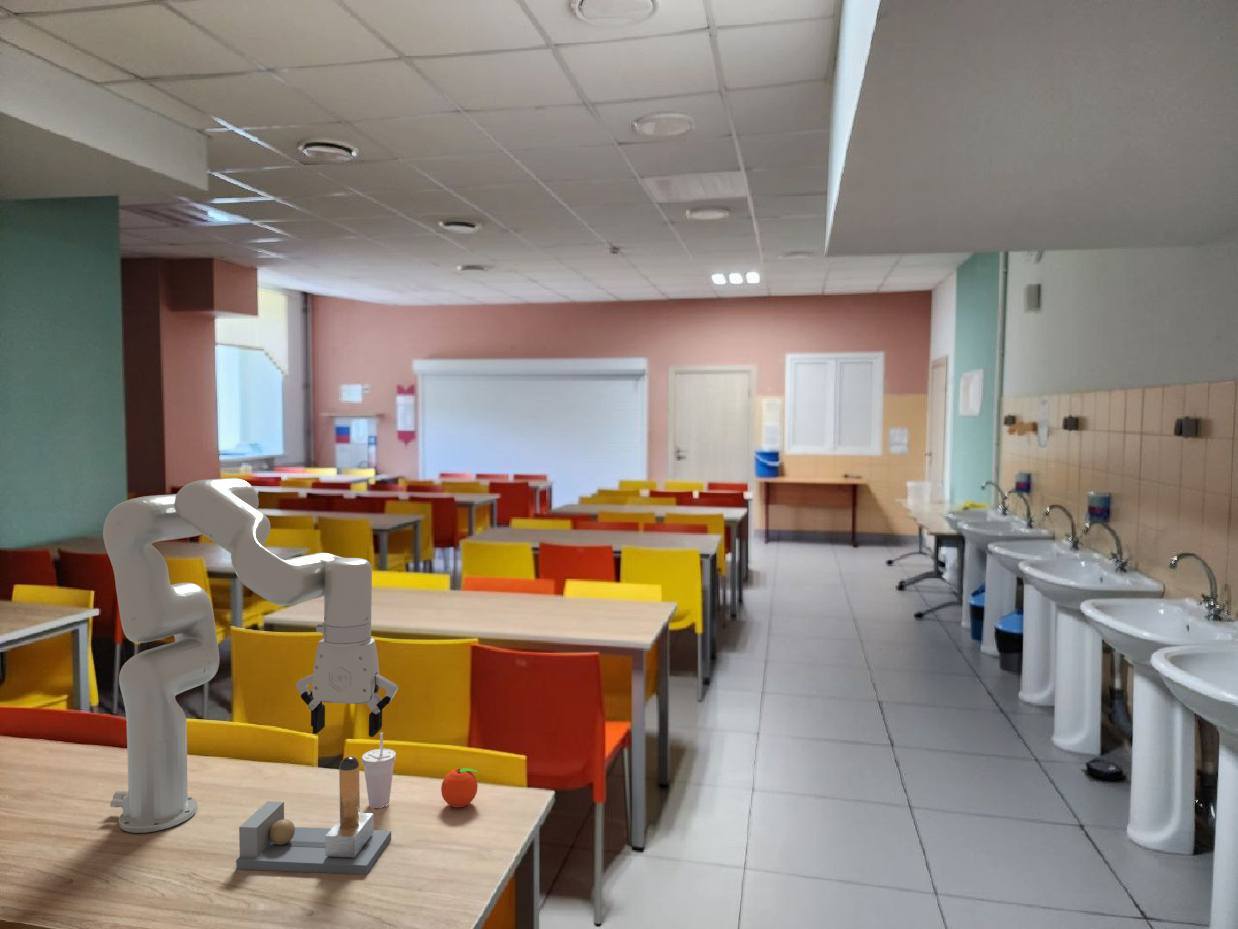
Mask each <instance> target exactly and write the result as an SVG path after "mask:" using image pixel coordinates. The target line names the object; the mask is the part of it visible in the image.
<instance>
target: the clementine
mask: <svg viewBox="0 0 1238 929" xmlns="http://www.w3.org/2000/svg"><path fill="white" fill-rule="evenodd" d="M473 772H475V773H477V774H479V775H481V773H480V772H478V770H476V769H474V768H468V767H467V768H466V767H465V768H463V767H460V768H455V769H453V770H451V771H449V772H447V774H446V775H445V777H444V778H443V780H442V782H441V788H440V791H441V796H442V799H443V800H444V801H445V802H446V804H447V805H449V806H451V807H453V808H463V807H465V806H467V805H469V804H471V802H472V801H473V800H474V799H475V798H476V795H477V793H478V788H479V787H478V786H479V785H478V781H477V778H476V776H475V774H474V773H473Z"/></svg>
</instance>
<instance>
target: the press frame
mask: <svg viewBox="0 0 1238 929" xmlns="http://www.w3.org/2000/svg"><path fill="white" fill-rule="evenodd" d="M331 829H332V827H331V828H329V827H328V828H325V827H304V826H303V827H302V826H300V827H299V826H295V825H294V823H293V821H291V820H289V819H287V818H285V802H284V801H273V800H271V801H270V800H268V801H266V802H265V803H264V804H263V805H262V806H260V807H259V808H258V809H257V810H256V811H255V812H254V813H253V814H252V815H251V816H250V817H249V818H248V819H246V820H245V821H244V822H243V823H242V824H240V826H239V827H238V833H239V834H238V835H239V836H238V837H239V838H238V840H239V844H238V845H239V857H238V858H237V859H236V860H235V862H236V864H235V865H236V866H235V868H236V869H237V870H256V871H257V870H258V871H259V870H260V871H279V872H280V871H282V872H303V873H325V874H346V875H348V874H349V875H350V874H351V875H368V874H369V872H370V871H371V869H373V867H374V865H375V863H376V862H377V860H378V859H379V857H380V856H381V855H382V853H383V852H384V850H386V849H385V848H386V847H388V844H390V842H391V840H392V831H391V830H380V829H379V830H377V829H373V834H372V835H371V836H370V838H369V839H368V840H367V842H366V843H365V844H364V846H363V847H362V848H361V850H360V851H359V852H358V854H357V855H356V856H355V857H334V856H325V835H326V834H327V833H328V832H329V831H330V830H331Z"/></svg>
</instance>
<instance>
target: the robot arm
mask: <svg viewBox="0 0 1238 929" xmlns="http://www.w3.org/2000/svg"><path fill="white" fill-rule="evenodd" d="M259 505H260V504H259V496H258V493H257V491H256V490H255V488H254V487H253V485H251V483H249V482H247V481H246V480H244V479H242V478H237V477H233V478H232V477H228V478H212V479H209V478H208V479H199V480H195V481H192V482H190V483H187V484H186V485H184V486H183V487H181V488H180V489H179V490H178V491H177V493H172V494H157V495H147V496H140V497H135V498H130V499H126V500H125V501H122V502H120V503H118V504H116V505H115V506H114V507H113V508H112V509H110V511H109V512H108V514H107V515H106V517H105V520H104V524H103V529H102V530H103V531H102V536H103V543H104V548H105V550H106V553H107V556H108V558H109V560H110V563H111V566H112V571H113V575H114V581H115V582H114V583H115V590H116V596H117V597H116V598H117V604H118V605H117V606H118V609H119V618H120V623H121V629H122V631H123V634H124V635H125V637H126V639H128V641H130V642H132V643H136V644H144V643H145V644H146V643H149V642H154V641H155V642H156V641H158V640H162V639H165V638H166V639H167V638H169V637H172V636H173V637H174V642H171V643H167V644H166V643H165V644H163V645H158V646H156V647H152V648H150V649H146V650H144V651H141V652H139V653H137V654H135V655H133V656H131V657H130V658H129V659H128V660H127V661H125V663H124V664H123V665H122V666H121V669H120V671H119V677H118V683H119V688H120V692H121V697H122V699H123V700H122V701H123V705H124V710H125V711H124V712H125V719H126V740H127V741H126V742H127V743H126V746H127V747H126V748H127V750H126V751H127V789H128V791H126V790H125V791H123V790H117V791H115V792H114V794H113V796H112V800H111V801H110V804H109V806H110V808H121V809H122V813H121V814H120V816H119V818H118V826H119V828H120V829H121V830H122V831H125V832H126V833H136V834H137V833H139V834H144V833H152V832H153V833H154V832H157V831H158V832H159V831H162V830H167V829H171V828H172V827H175V826H178V825H179V824H182V823H184V822H185V821H187V820H189V819H190V818H191V817H193V816H194V815H195V814H196V812H197V811H198V801H197V800H196V798H194V797H192V796H189V793H188V792H189V789H188V787H189V785H188V739H187V738H188V737H187V736H188V735H187V731H188V730H187V728H188V727H187V716H186V713H185V711H184V710H183V708H182V707H181V706H180V705H179V703H178V702H177V700H176V696H177V695H180V694H182V693H183V692H186V691H188V690H189V691H190V690H192V689H193V688H197V687H199V686H201V685H204V684H206V683H208V682H210V681H211V680H212V679H213V678H214V677H215V676H216V674H217V672H218V670H219V667H220V651H219V643H218V636H217V635H218V634H217V629H216V622H215V614H214V610H213V604H212V602H211V598H210V596H209V595H208V594H207V591H206V590H205V589H204V588H203V587H201V586H200V585H198V584H197V583H192V582H178V583H175V584H174V583H173V584H171V580H170V575H169V568H168V564H167V562H166V560H165V557H164V556H163V555H162V553H161V552H160V551H159V550H158V549H157V548H156V547H155V546H154V545H153V544H154V543H157V542H163V541H172V540H179V539H185V538H192V537H198V536H202V535H203V536H205V537H206V538H208V539H209V540H211V541H212V542H213V543H215V544H216V545H218V546H219V547H220V548H222V549H223V550H224V551H226V552H228V553H229V554H230V560H231V561H230V562H231V566H232V567H233V570H234V572H235V575H236V576H237V578H238V580H240V582H241V583H242V584H243V585H244V586H246V588H248V589H249V590H250V591H252V592H253V593H255V594H256V595H258V596H259V597H261V598H262V599H264V600H265V601H267V602H269V603H271V604H274V605H276V606H282V607H283V606H284V607H287V606H293V605H298V604H300V603H303V602H307V601H310V600H315V599H319V598H323V597H324V598H323V600H324V601H323V604H324V605H323V622H322V624H321V623H320V624H317V625H316V628H315V631H316V632H317V633H320V634H322V639H320V640H319V641H318V643H317V648H316V653H315V657H314V664H313V673H312V674H309V675H307V676H305V677H303V678H301V679H299V680H298V681H296V682H295V686H296V689H297V691H298V693H299V694H300V698H301V700H303V701H302V702H304V703H305V704H306V705H307V708H308V710H309V711H310V726H311V727H312V734H313V735H317V734H318V733H320V732H321V731H322V730H323V729H325V727H326V705H325V704H323V703H330V704H331V703H333V704H348V705H349V704H351V705H363V704H366V705H367V707H368V708H369V709H370V711H371V712H370V713H369V715H368V736H369V737H370V738H374V737H375V736H376V735H377V734H378V733H379V732H380V731H381V730H382V727H383V709H384V708H385V707H386V706H387V705H388V704H390V703H391V702H392V700H393V699H394V697H395V695H396V694H397V691H398V690H399V685H398V684H396V683H395V682H393V681H391V680H390V679H388V678H386V677H385V676H383V675H381V674H380V666H379V665H380V664H379V657H378V656H379V655H378V650H377V645H376V644H377V643H376V640H375V638H372V606H373V604H372V603H373V602H372V597H373V596H372V595H373V592H372V590H373V589H372V588H373V586H372V584H373V570H372V568H373V567H372V564H371V562H370V561H369V560H368V559H364V558H361V557H360V558H359V557H342V556H338V555H336V554H332V553H328V552H317V553H311V554H307V555H301V556H300V555H299V556H297V557H296V556H295V557H291V558H286V559H283V558H280V557H279V556H277V555H276V554H274V553H272V552H271V551H269V550H268V549H267V548H265V547H264V544H265V542H266V541H267V539H268V538H269V535H270V532H271V522H270V520H269V518H268V516H266V514H264V513H263V512H262V511H260V510H258V508H259ZM310 684H311V685H312V686H311V690H310V687H309V685H310ZM380 688H382V689H383V690H385V692H386V693H385V694H384V697H383V698H382V697H381V696H380V695H379V694H378V693H379V691H380Z"/></svg>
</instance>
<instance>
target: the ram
mask: <svg viewBox="0 0 1238 929" xmlns="http://www.w3.org/2000/svg"><path fill="white" fill-rule="evenodd" d="M340 761H341V762H339V766H338V768H339V770H338V773H339V778H338V779H339V780H338V781H339V782H338V783H339V784H338V785H339V786H338V787H339V819H338V820H337V822H335V824H334V825H333V826H332V827H331V830H330V831H329V832H328V833H327V834H326V835H325V856H334V857H355V856H356V855H357V854H358V852H359V851H360V850H361V848H362V847H363V846H364V844H365V843H366V842H367V840H368V839H369V838H370V836H371V835H372V834H373V830H374V813H371V812H369V813H368V812H361V810H360V808H361V807H360V806H361V804H360V802H361V801H360V793H361V792H360V762H359V759H357V757H355V756H349V755H348V756H346V757H344V758H343V759H342V760H340Z"/></svg>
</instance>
